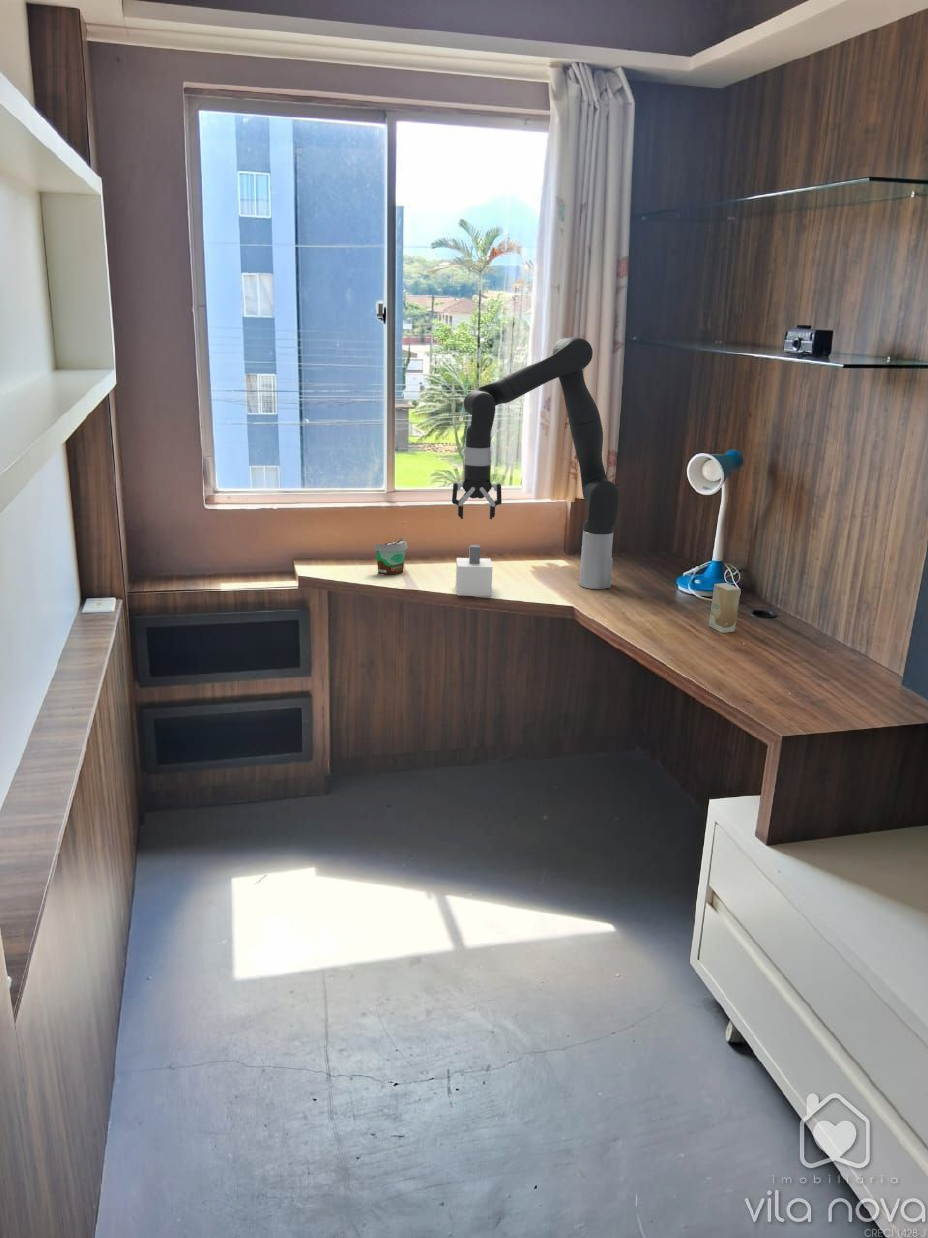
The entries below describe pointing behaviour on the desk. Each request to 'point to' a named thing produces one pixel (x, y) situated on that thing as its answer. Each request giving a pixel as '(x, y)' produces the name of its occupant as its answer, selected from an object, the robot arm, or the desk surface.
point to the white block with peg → (474, 574)
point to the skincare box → (724, 607)
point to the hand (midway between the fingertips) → (476, 518)
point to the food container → (391, 557)
